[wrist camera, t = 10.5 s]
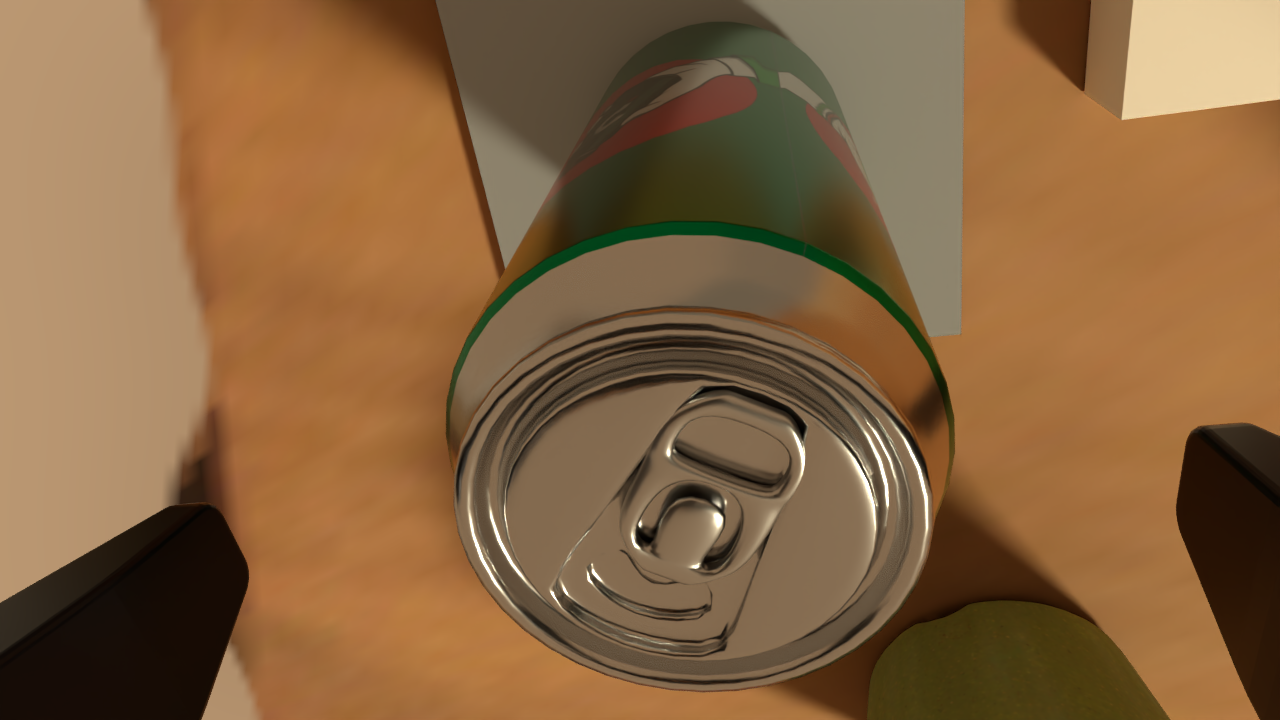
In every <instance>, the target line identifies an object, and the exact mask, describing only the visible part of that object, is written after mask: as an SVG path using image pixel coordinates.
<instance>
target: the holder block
mask: <svg viewBox="0 0 1280 720" xmlns="http://www.w3.org/2000/svg"><path fill="white" fill-rule="evenodd" d="M1084 94H1086V95H1087V96H1089V97H1090V98H1091V99H1093V100H1094V101H1096V102H1097V103H1098V104H1100V105H1101V106H1103V107H1104V108H1105V109H1107V110H1108V111H1110V112H1111V113H1112V114H1114V115H1115V116H1117V117H1118V118H1120V119H1121V120H1125V119H1133V118H1141V117H1148V116H1156V115H1164V114H1171V113H1179V112H1187V111H1194V110H1202V109H1210V108H1217V107H1225V106H1233V105H1240V104H1248V103H1256V102H1264V101H1271V100H1279V99H1280V0H1091V11H1090V24H1089V37H1088V51H1087V64H1086V77H1085V90H1084Z"/></svg>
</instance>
